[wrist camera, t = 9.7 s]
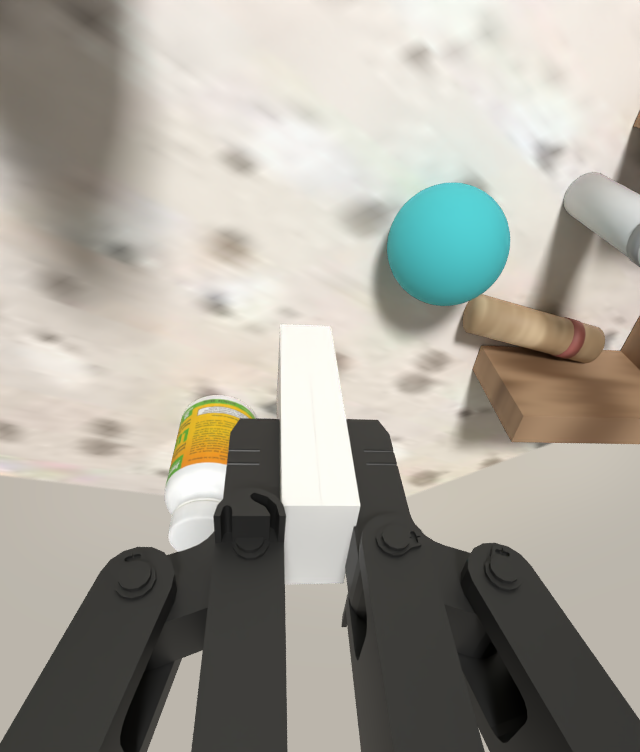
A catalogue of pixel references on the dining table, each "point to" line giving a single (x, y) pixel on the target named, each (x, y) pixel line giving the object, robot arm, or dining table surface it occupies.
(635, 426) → the walnut backstop
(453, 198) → the ball
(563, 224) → the dining table surface
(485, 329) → the beech pin
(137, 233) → the dining table surface
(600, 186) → the grey pin
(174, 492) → the supplement bottle
